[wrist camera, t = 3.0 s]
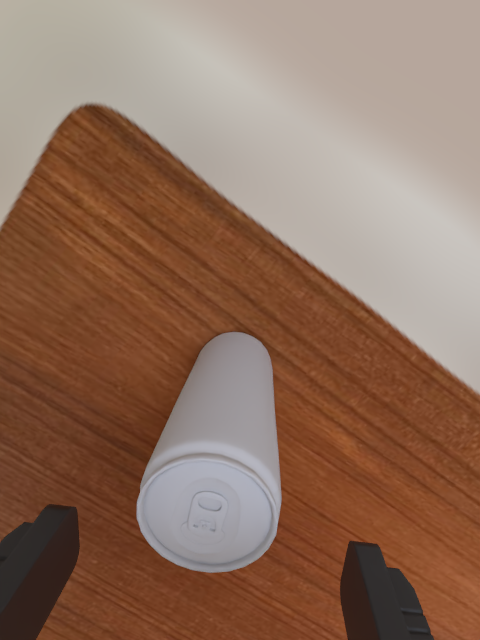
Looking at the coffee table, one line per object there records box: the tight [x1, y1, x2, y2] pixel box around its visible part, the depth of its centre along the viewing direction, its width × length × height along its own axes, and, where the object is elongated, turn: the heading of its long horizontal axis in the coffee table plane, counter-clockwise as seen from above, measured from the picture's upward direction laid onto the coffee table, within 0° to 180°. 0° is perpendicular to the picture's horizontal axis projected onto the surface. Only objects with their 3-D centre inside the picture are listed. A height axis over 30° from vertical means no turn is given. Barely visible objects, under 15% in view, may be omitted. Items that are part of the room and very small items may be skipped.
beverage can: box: [137, 332, 281, 573], centre depth 17 cm, size 5×5×12 cm
